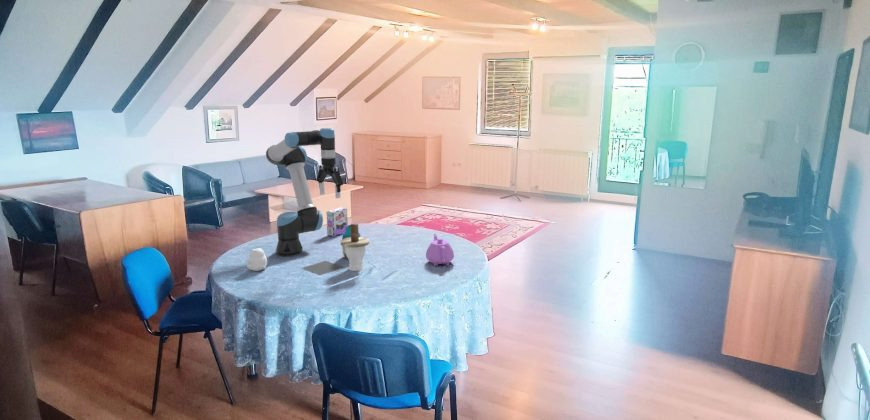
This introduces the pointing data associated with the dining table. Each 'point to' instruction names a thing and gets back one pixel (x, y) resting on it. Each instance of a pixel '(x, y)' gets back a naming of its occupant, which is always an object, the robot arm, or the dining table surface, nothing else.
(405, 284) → the dining table surface
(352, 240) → the lid
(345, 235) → the vase
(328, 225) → the candy box
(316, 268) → the mat
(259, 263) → the figurine
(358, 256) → the cup
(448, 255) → the teapot
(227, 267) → the dining table surface
